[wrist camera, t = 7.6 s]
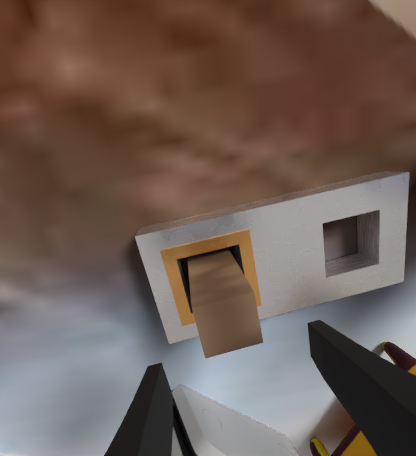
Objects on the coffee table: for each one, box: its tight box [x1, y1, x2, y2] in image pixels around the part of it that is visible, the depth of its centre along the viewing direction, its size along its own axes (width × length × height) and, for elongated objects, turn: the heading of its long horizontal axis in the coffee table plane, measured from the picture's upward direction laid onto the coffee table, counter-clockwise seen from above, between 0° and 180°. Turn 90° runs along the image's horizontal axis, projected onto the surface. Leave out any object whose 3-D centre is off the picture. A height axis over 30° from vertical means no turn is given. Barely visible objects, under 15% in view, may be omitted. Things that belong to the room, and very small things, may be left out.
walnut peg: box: [187, 247, 263, 358], centre depth 17 cm, size 4×4×8 cm
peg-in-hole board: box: [135, 171, 409, 344], centre depth 20 cm, size 22×10×3 cm, turn 102°
